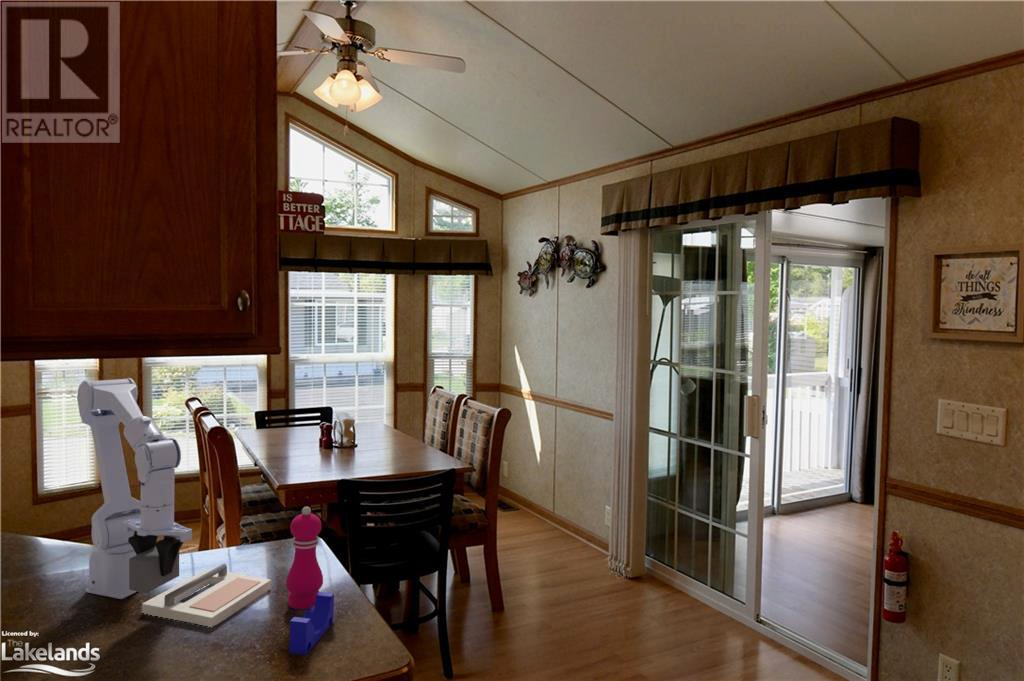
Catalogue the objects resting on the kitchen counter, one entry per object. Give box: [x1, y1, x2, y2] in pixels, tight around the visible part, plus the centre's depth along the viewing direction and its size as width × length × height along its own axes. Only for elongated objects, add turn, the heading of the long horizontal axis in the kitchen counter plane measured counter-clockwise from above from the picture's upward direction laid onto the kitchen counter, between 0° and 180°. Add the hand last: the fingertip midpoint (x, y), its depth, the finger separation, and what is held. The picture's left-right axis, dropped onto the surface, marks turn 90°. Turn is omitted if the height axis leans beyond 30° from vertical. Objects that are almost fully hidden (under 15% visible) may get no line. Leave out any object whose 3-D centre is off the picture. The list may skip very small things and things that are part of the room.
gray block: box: [129, 546, 180, 594], centre depth 128 cm, size 4×8×6 cm, turn 163°
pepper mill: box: [285, 506, 324, 610], centre depth 136 cm, size 7×7×20 cm
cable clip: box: [289, 591, 335, 656], centre depth 124 cm, size 12×4×6 cm, turn 172°
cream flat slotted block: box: [141, 563, 272, 629], centre depth 136 cm, size 16×18×4 cm
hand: (156, 572), depth 129 cm, fingers closed on gray block, 4 cm apart
